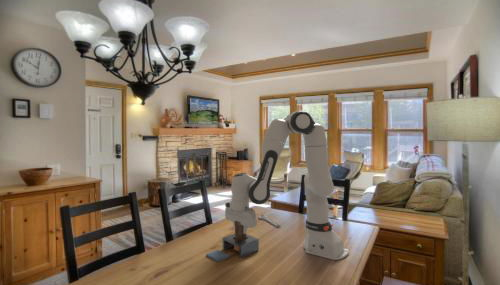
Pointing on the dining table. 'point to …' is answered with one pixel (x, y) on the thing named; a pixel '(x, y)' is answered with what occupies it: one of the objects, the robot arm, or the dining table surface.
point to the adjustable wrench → (264, 217)
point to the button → (236, 248)
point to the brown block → (239, 232)
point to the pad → (217, 255)
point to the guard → (242, 244)
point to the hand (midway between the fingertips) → (240, 232)
